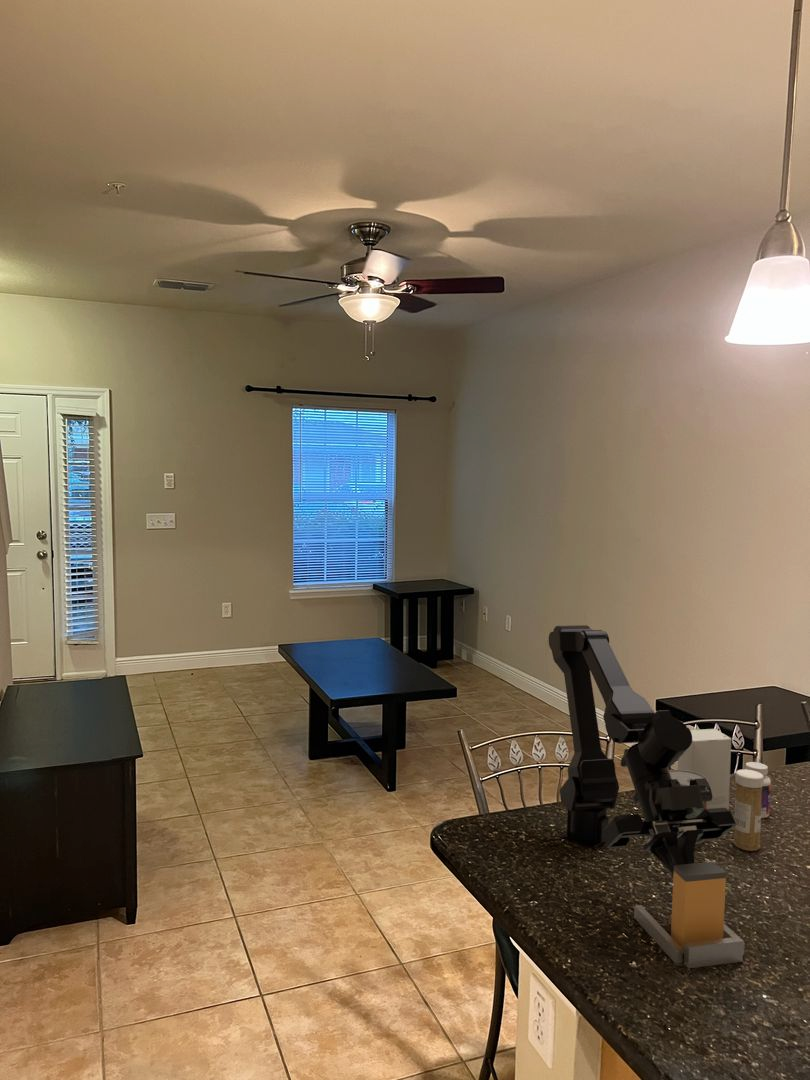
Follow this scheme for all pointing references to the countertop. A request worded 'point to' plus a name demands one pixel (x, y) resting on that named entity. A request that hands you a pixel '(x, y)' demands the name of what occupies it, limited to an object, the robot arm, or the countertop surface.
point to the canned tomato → (684, 780)
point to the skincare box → (710, 763)
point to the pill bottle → (765, 788)
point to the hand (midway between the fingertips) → (690, 888)
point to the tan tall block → (698, 903)
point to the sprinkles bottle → (748, 809)
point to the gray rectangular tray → (693, 944)
